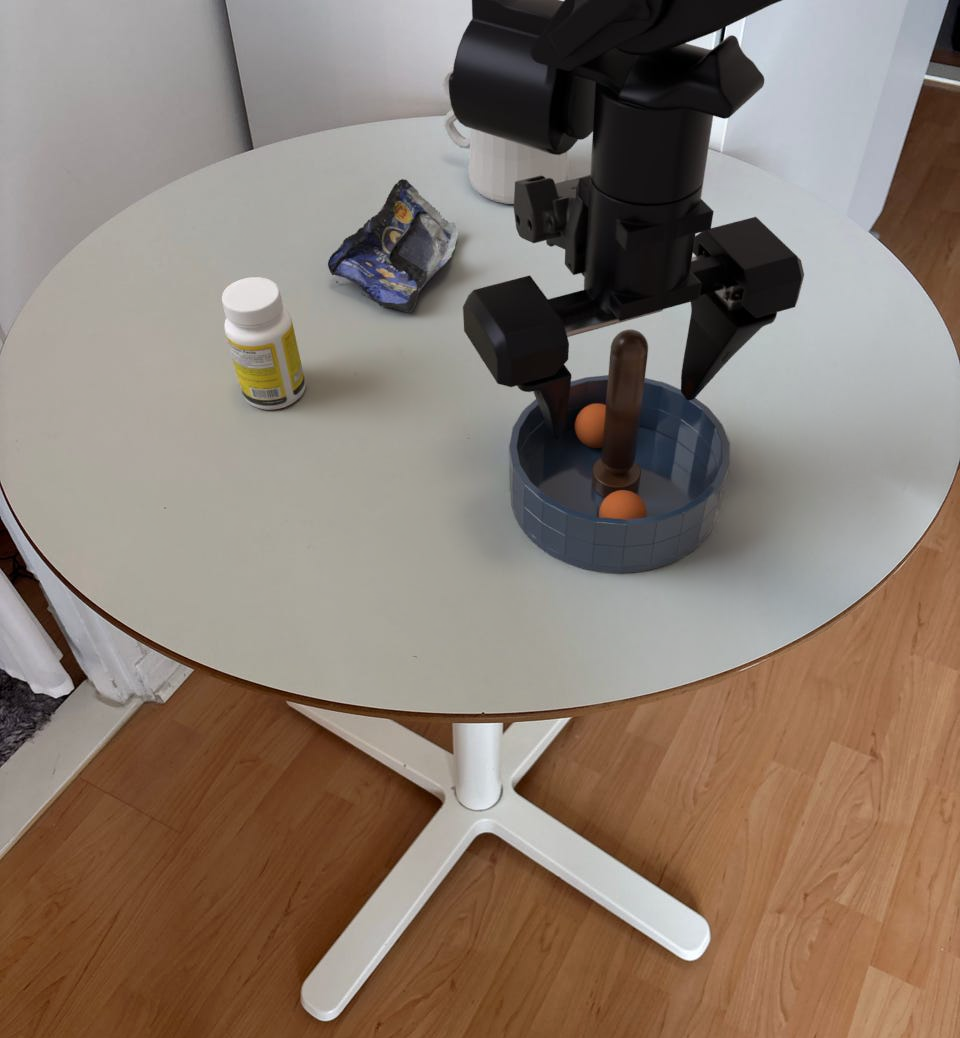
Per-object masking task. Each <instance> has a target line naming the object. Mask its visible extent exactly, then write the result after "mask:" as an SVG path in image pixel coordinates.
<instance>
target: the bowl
mask: <svg viewBox="0 0 960 1038" xmlns="http://www.w3.org/2000/svg"><path fill="white" fill-rule="evenodd" d="M607 385H608V374H606V375H604V374H603V375H595V376H586V377H582V378H578V379H575V380H571V385H570V393H569V401H568V409H567V417H566V425H565V429H564V432H563V435H562V438H561V439H558V440H555V439H554V437H553V436H552V434H551V433H550V431H549V429H548V427H547V424H546V422H545V419H544V417H543V414H542V412H541V409H540V407H539V404H538V402H537V399H536V398H535V399H534V400H533V401H531V402H530V404H528V405H527V406H526V407H525V408H524V409H523V410H522V411H521V413H520V415H519V417H518V418H517V419H516V422H515V423H514V424H513V426H512V430H511V435H510V438H509V439H510V441H509V444H508V461H509V462H508V463H509V465H508V467H509V469H508V470H509V473H508V475H509V480H508V481H509V494H510V504H511V508H512V509H511V510H512V513H513V516H514V518H515V521H516V522H517V524H518V526H519V527H520V528H521V530H522V531H523V533H524V534H525V536H527V537H528V538H529V540H530V541H531V542H532V543H533V544H535V545H536V546H537V547H538V548H539V549H540V550H542V551H543V552H545V553H546V554H548V555H550V556H551V557H553V558H555V559H557V560H559V561H561V562H562V563H563V562H564V563H566V564H568V565H571V566H574V567H576V568H581V569H584V570H588V571H594V572H601V573H609V574H628V573H630V574H631V573H639V572H645V571H646V572H647V571H651V570H656V569H658V568H662V567H664V566H667V565H669V564H672V563H675V562H677V561H679V560H680V559H682V558H685V557H686V556H687V555H689V554H690V553H692V552H693V551H694V550H696V549H697V548H698V547H699V546H700V545H701V544H702V543H703V542H704V541H705V540H706V538H707V537H708V536H709V534H710V533H711V531H712V529H713V528H714V526H715V524H716V522H717V518H718V515H719V512H720V509H721V505H722V501H723V497H724V492H725V488H726V482H727V479H728V473H729V470H730V465H731V443H730V441H729V438H728V435H727V432H726V430H725V428H724V425H723V424H722V422H721V421H720V419H718V417H717V416H716V415H715V414H714V412H713V411H712V410H711V409H710V407H708V406H707V405H706V404H704V403H703V402H701V400H699V399H697V397H695V399H693V400H690V401H688V400H687V399H686V398H685V397H684V395H683V394H682V392H681V388H678V387H676V386H673V385H671V384H669V383H667V382H663V381H659V380H655V379H652V378H647V377H645V381H644V389H643V397H642V406H641V414H640V422H639V430H638V439H637V447H636V455H635V461H636V462H637V463H638V464H639V466H640V469H641V476H640V484H639V488H638V490H637V491H636V492H635V494H637V495H638V496H639V497H640V498H641V499H642V500H643V502H644V504H645V507H646V517H645V518H636V519H615V518H603V517H599V509H600V506H601V504H602V502H603V500H604V499H605V498H606V497H603V496H601V495H600V494H598V493H597V492H596V491H595V489H594V488H593V485H592V472H593V466H594V464H595V463H596V461H597V460H599V459H600V458H601V455H602V447H601V448H592V447H588V446H586V445H585V444H583V443H582V442H581V441H580V440H579V439H578V437H577V435H576V432H575V421H576V418H577V415H578V414H579V412H580V411H581V410H582V409H583V408H585V407H586V406H588V405H591V404H597V403H599V404H604V405H606V397H607Z"/></svg>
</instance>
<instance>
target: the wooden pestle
mask: <svg viewBox="0 0 960 1038" xmlns="http://www.w3.org/2000/svg"><path fill="white" fill-rule="evenodd" d="M648 355H649V343H648V340H647V338H646V336H645V335H644V334H643V333H642V332H641V331H639V330H637V329H631V328H630V329H624V330H622V331H619V333H617V334H616V335H615V336H614V338H613V339H612V342H611V344H610V351H609V362H608V363H609V364H608V374H607V375H608V385H607V397H606V409H605V420H604V432H603V443H602V455H601V458H600V459H599V460H597V461H596V463H595V464H594V466H593V472H592V485H593V488H594V489H595V491H596V492H597V493H598V494H600V495H601V496H603V497H607V496H608V495H609V494H611V493H613V492H615V491H619V490H627V491H631V492H633V493H635V492H636V491H637V490H638V488H639V484H640V476H641V469H640V466H639V464H638V463H637V462H636V461H635V455H636V447H637V439H638V430H639V422H640V414H641V406H642V397H643V389H644V381H645V378H646V374H647V373H646V372H647V364H648Z"/></svg>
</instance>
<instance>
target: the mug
mask: <svg viewBox="0 0 960 1038" xmlns="http://www.w3.org/2000/svg"><path fill="white" fill-rule="evenodd" d="M453 68H454V63H453V64H450V65H449V66H448V67H447V68H446V69H445V71H444V73H442V81H441V84H442V87H443V90H444V92H445V94H446V96H447V97H448V99H449V100H450V95H449V77H450V75H451V74H452V73H453ZM456 121H458V119H457V118H456V116H455V115H454V112H453V109H452V108H451V109H450V110H449V111H448V112H447V113H446V115H445V116H444V119H443V127H444V129H445V132H446V134H447V136H448V137H449V138H450V139H451V141H452V142H453V143H454V144H455V145H456V146H458V147H459V148H460V149H466V150H467V149H468V150H469V152H468V153H469V155H468V168H467V169H468V170H467V172H468V178H469V183H470V185H471V186H472V188H473V189H474V190H475V191H476V192H477V193H478V194H480V195H481V196H483V197H484V198H486V199H488V200H491V201H492V202H497V203H501V204H507V205H508V204H509V205H514V192H515V182H516V181H520V180H524V179H528V178H532V177H536V176H544V177H545V178H551V179H553V180H554V182H555V184H556V183H560V182H564V181H567V178H568V173H569V157H568V151H567V152H565V153H563V154H561V155H554V154H550V153H547V152H544V151H541V150H537V149H534V148H531V147H528V146H525V145H522V144H519V143H515V142H512V141H509V140H506V139H503V138H500V137H497V136H494V135H490V134H487V133H484V132H481V131H478V130H475V129H472V128H470V135H469V136H468V137H465V136H463V135H462V134H461V133H460V132H459V130H457V128H456V126H455V123H454V122H456Z"/></svg>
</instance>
